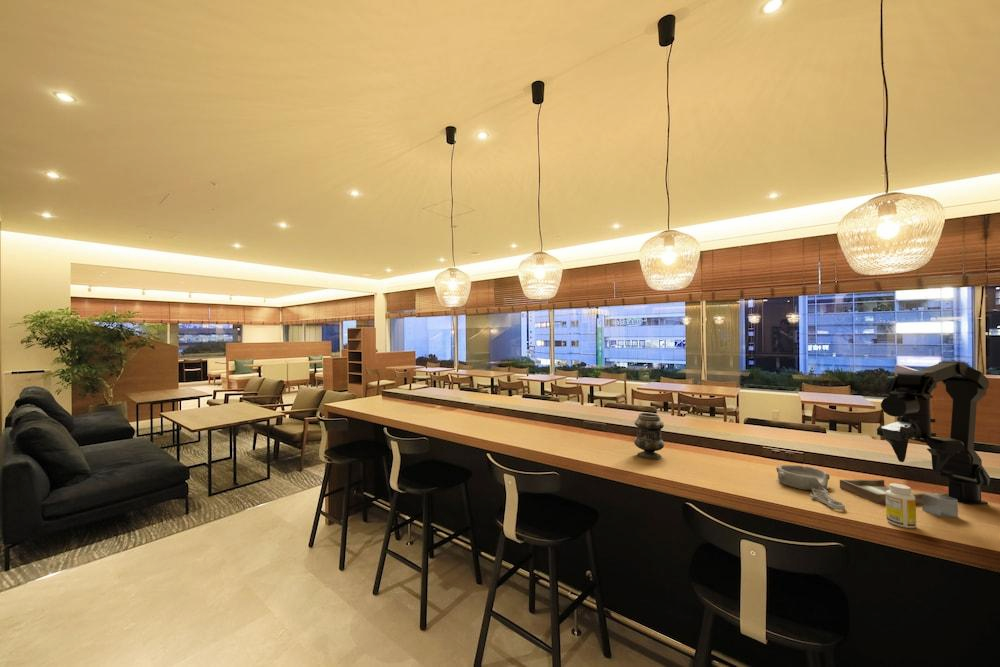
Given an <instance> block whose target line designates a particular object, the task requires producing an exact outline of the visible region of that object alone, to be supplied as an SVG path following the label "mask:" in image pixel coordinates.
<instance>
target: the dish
mask: <svg viewBox="0 0 1000 667" xmlns="http://www.w3.org/2000/svg"><path fill="white" fill-rule="evenodd" d="M775 469H776V472H777V479H778V481H779V482H780V483H781V484H784V485H785V486H789V487H791V488H795V489H800V490H805V491H812V487H813V488H814V489H818V488H819V487H821V488H824V489H827V488H828V487H827V486H828V483H829V480H830V474H829V473H828V472H826V471H824V470H822V469H819V468H814V467H811V466H804V465H799V464H798V465H796V464H794V465H793V464H791V465H790V464H789V465H788V464H781V465H779V466H776V467H775Z"/></svg>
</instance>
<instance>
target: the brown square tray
mask: <svg viewBox="0 0 1000 667" xmlns="http://www.w3.org/2000/svg"><path fill="white" fill-rule="evenodd" d="M839 488H840V489H842V490H844V491H847V492H848V493H852V494H854V495H856V496H858V497H861V498H863V499H866V500H868V501H870V502H872V503H876V504H878V505H879V504H880V505H881V504H882V505H884V504H885V505H886V491H887V490H890V488H889V485H885V480H884V479H839ZM911 494H912V495H913V496H915V499H916V504H921V505H922V493H911Z"/></svg>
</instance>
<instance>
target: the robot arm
mask: <svg viewBox="0 0 1000 667" xmlns="http://www.w3.org/2000/svg"><path fill="white" fill-rule="evenodd" d="M940 382H941V383H942V384H943V385H944V388H945V392H946V393H947V394H948V395H949V397H950V398H951V399H952V404H951V405H952V406H951V407H952V408H951V419H950V420H951V421H950V433H949V437H946V436H945V437H942V436H941V437H937V433H936V432H932V423H936V419H935V418H932V417H931V416H932V413H931V399H933V398H934V396H933V395H932V392H933V391H934V390H935V389H936V388H938V384H937V383H940ZM989 387H990V380H989V379H988V377H987V376H986V375H985V374H984V373H983V372H982V371H980V370H977V369H975V368H973V367H970V366H968V365H967V363H965V362H962V361H950V360H944V361H939V362H938V363H936V364H934V365H931V366H928V367H925V368H922V369H919V370H900V371H898V372H897V374H896V375H895V376H894V379H893V380H892V382H891V385H890V387H889V390H888V396H887V397H885V398H883V399H882V401H881V402H880V408H881V410H882V411H883V412H884V413H885V415H888V416H891V417H894V418H895V417H896V421H895V422H894V421H893V422H891V423H888V424H885V425H879V426H878V427H877V428H876V434H877V436H879V437H880V436H881V439H883V440H885V441H886V442H888V443H889V445H890V447H891V448H892V450H893V451H894V453H895V456H896V458H897V460H898V461H899V463H904V462H905V460H906V457H907V450H908V446H909V445H908V444H909V440H912V441H915V442H920V443H924V444H926V445H927V446H928V447H929V448H926V450H927V451H928V452H929V453H930V454H931V464H932V465H931V467H932V472H933V473H934V474H935V473H936V474H937V473H940V476H941V477H944V478H948V484H947V486H948V489H947V491H948V492H947V493H943V494H942V495H945V496H948V497H951V498H954V499H957V500H958V502H961V503H964V504H967V505H988V503H989V502H988V501H985V500H983V499H982V487H981V486H989V485H990V482H991V477H990V475H989V473H988V472H987V470H986V469H985V468H984V467H983V463H982V461H983V460H982V458H981V457H980V456H979V454H978V453H977V451H975V438H976V437H975V435H976V434H975V433H976V422H977V421H976V420H977V419H976V418H977V404H978V402H980V400H981V399H982V400H983V398H984V397H985V396H987V390H988V389H989Z"/></svg>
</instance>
